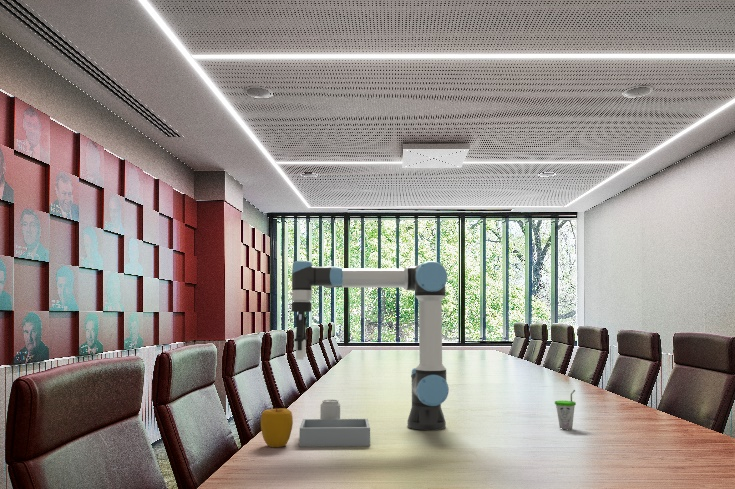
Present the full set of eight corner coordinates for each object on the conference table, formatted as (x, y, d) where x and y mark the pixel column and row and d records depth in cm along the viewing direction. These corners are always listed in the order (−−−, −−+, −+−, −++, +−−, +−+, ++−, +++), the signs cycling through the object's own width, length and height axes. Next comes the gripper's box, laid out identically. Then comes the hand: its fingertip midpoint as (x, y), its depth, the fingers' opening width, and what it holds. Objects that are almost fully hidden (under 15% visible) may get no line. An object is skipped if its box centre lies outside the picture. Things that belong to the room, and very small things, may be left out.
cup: (554, 429, 238) (553, 390, 240) (556, 426, 246) (555, 388, 247) (575, 431, 236) (574, 391, 237) (577, 427, 243) (575, 389, 244)
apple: (280, 441, 217) (280, 403, 219) (299, 445, 210) (299, 407, 211) (253, 445, 210) (254, 407, 211) (272, 450, 202) (273, 410, 203)
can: (337, 434, 228) (337, 401, 230) (317, 434, 230) (318, 401, 231) (342, 431, 236) (342, 399, 237) (323, 430, 237) (323, 398, 239)
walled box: (367, 435, 227) (367, 418, 228) (370, 445, 210) (370, 427, 210) (302, 435, 226) (302, 419, 227) (299, 446, 209) (299, 428, 209)
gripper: (294, 302, 247) (293, 355, 244) (288, 300, 222) (288, 360, 220) (313, 302, 247) (312, 355, 245) (309, 301, 222) (309, 360, 220)
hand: (300, 358), depth 232 cm, fingers open, 13 cm apart
